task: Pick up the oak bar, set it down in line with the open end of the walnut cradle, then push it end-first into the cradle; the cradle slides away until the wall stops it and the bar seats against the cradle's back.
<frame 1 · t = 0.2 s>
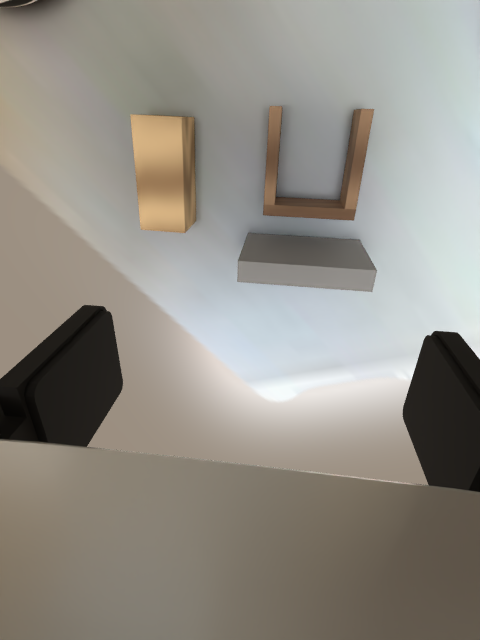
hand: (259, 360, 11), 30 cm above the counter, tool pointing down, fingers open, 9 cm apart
oak bar: (174, 170, 38), on the counter
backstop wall: (302, 245, 40), on the counter
cradle: (312, 163, 34), point 2 cm above the counter, slide at 0.0 cm
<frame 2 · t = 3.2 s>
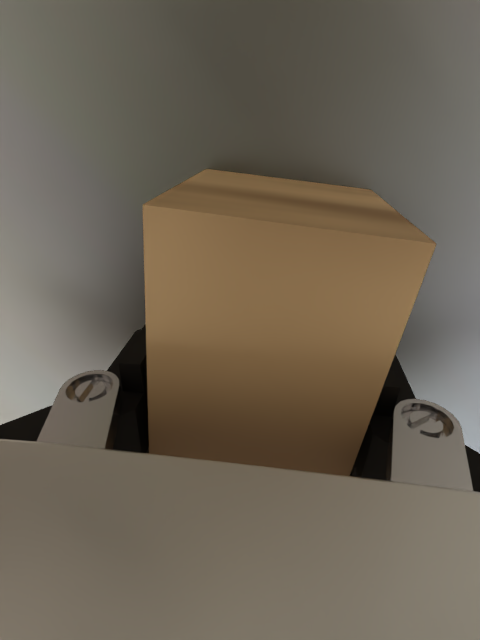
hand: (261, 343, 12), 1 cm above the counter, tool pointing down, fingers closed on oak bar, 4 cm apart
oak bar: (263, 335, 12), on the counter, touching gripper
when the fingers open (2 cm above the counter, at t = 8.8 s): oak bar drops 2 cm, on the counter.
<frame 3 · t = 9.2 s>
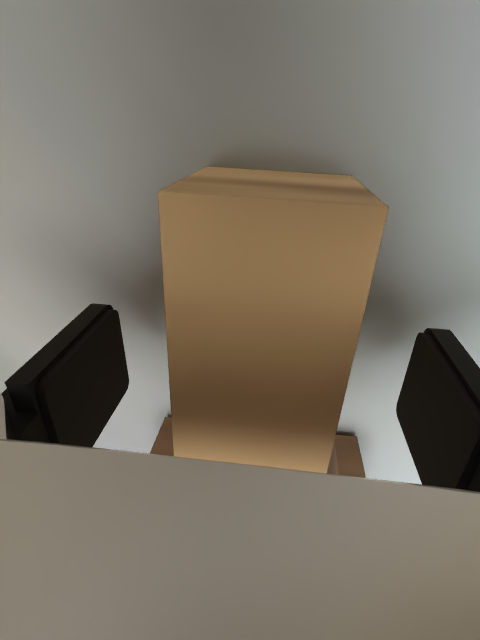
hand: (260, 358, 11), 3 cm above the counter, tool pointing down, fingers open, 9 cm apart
oak bar: (265, 311, 14), on the counter
cradle: (250, 532, 17), point 2 cm above the counter, slide at 0.0 cm
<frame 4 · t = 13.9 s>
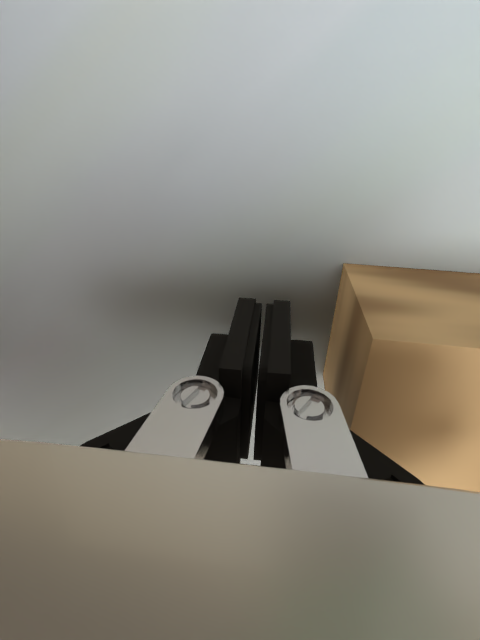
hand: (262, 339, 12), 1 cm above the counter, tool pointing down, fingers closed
oak bar: (476, 333, 13), on the counter, touching gripper
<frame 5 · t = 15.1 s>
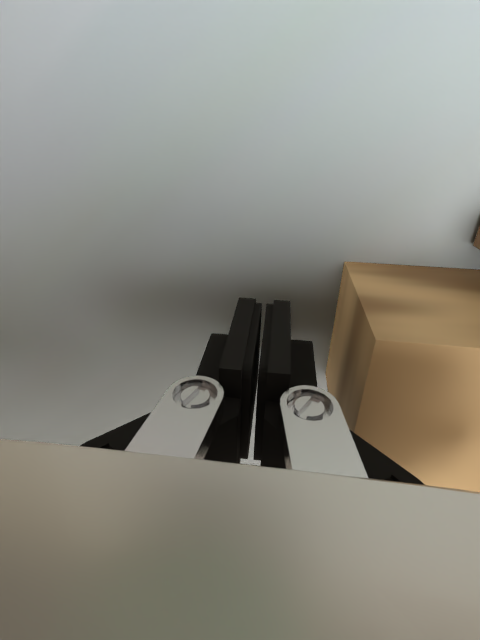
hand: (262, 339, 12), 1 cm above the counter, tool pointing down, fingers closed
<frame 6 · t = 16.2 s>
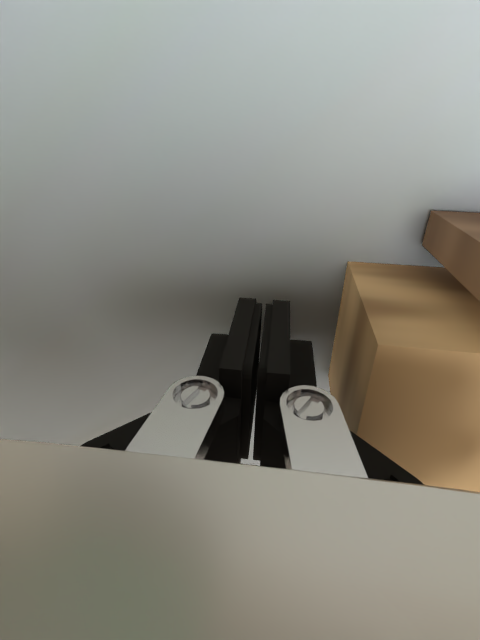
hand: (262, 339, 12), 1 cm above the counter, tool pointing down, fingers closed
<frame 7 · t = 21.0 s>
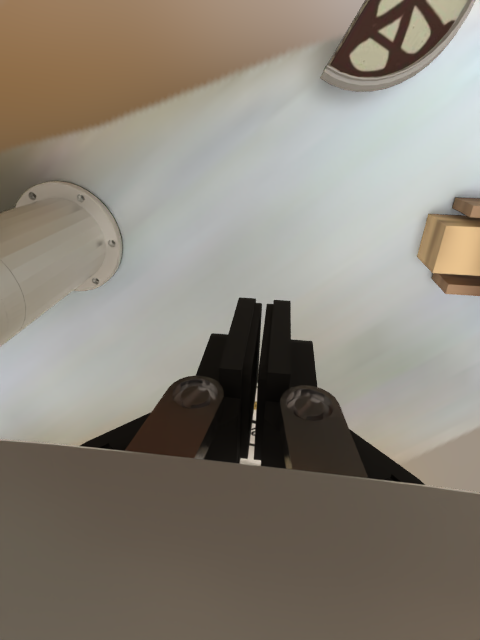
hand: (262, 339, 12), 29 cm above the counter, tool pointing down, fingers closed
food container: (387, 35, 31), on the counter
oak bar: (472, 238, 38), on the counter
milk container: (257, 416, 53), on the counter
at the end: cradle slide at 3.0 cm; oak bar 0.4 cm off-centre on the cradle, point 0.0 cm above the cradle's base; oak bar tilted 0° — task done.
